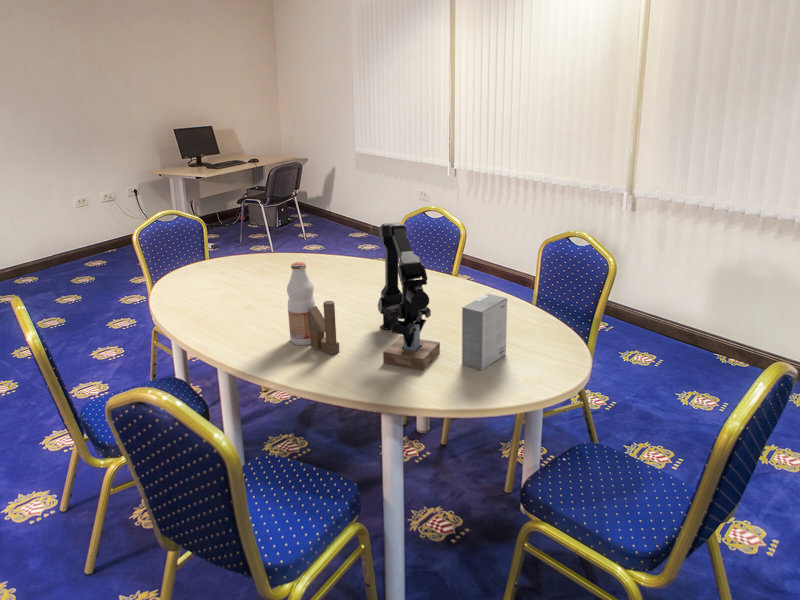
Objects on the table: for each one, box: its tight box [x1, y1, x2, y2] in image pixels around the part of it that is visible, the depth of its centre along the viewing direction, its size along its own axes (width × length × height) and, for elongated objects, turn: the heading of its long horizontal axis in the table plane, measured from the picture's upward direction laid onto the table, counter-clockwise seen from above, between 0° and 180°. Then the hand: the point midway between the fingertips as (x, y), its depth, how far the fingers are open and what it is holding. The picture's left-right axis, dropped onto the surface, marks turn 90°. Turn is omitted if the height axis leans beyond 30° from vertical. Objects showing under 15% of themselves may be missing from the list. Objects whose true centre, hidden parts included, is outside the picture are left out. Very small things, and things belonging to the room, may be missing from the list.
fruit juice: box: [286, 261, 316, 346], centre depth 217 cm, size 9×9×28 cm
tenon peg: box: [404, 324, 421, 352], centre depth 204 cm, size 4×4×9 cm
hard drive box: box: [461, 293, 508, 371], centre depth 201 cm, size 16×8×20 cm, turn 141°
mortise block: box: [382, 335, 441, 371], centre depth 206 cm, size 14×14×4 cm
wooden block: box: [309, 300, 340, 356], centre depth 211 cm, size 4×11×18 cm, turn 48°
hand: (411, 344), depth 205 cm, fingers closed on tenon peg, 4 cm apart
